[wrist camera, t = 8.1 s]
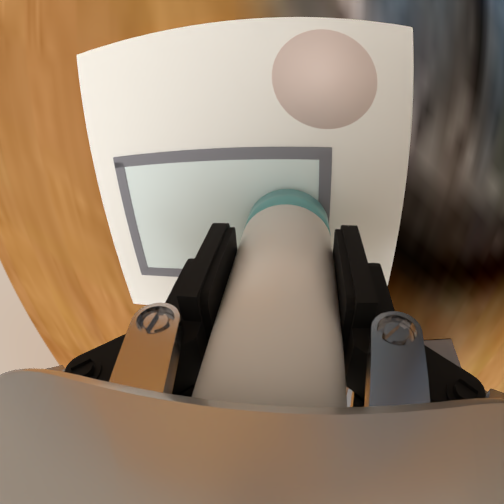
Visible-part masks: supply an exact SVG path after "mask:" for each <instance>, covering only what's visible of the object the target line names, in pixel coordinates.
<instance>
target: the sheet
mask: <svg viewBox="0 0 504 504" xmlns="http://www.w3.org/2000/svg"><path fill="white" fill-rule="evenodd" d="M77 64H78V73H79V81H80V89H81V96H82V103H83V109H84V116H85V121H86V127H87V133H88V138H89V143H90V148H91V153H92V158H93V163H94V168H95V172H96V177H97V181H98V185H99V189H100V193H101V197H102V201H103V205H104V209H105V213H106V217H107V220H108V224H109V228H110V231H111V235H112V238H113V242H114V245H115V248H116V252H117V255H118V258H119V261H120V265H121V268H122V271H123V274H124V277H125V280H126V283H127V286H128V289H129V292H130V295H131V298H132V300H133V303H134V304H144V305H150V304H153V303H165V302H166V300H167V298H168V296H169V294H170V292H171V290H172V288H173V286H174V284H175V282H176V280H177V278H178V277H179V275H180V273H181V271H182V269H183V267H184V265H185V263H186V261H187V260H188V259H190V258H195V257H196V255H197V253H198V251H199V249H200V247H201V245H202V243H203V241H204V239H205V237H206V235H207V233H208V231H209V229H210V227H211V225H212V224H213V223H229V225H230V227H235V231H236V240H237V250H238V247H239V244H240V241H241V238H242V235H243V232H244V229H245V225H246V222H247V219H248V216H249V213H250V211H251V209H252V207H253V206H254V204H255V203H256V202H257V201H258V200H259V199H260V198H261V197H263V196H264V195H266V194H268V193H270V192H272V191H276V190H280V189H294V190H299V191H302V192H305V193H307V194H309V195H311V196H312V197H314V198H315V199H316V200H317V201H318V202H319V203H320V204H321V205H322V206H323V208H324V210H325V212H326V214H327V217H328V221H329V228H330V235H331V242H332V249H333V244H334V232H335V229H340V228H341V225H357V227H358V230H359V233H360V236H361V240H362V243H363V247H364V250H365V254H366V257H367V261H368V263H379V264H380V265H381V267H382V271H383V274H384V277H385V280H386V283H387V286H388V282H389V277H390V273H391V268H392V263H393V258H394V253H395V248H396V243H397V237H398V232H399V226H400V220H401V214H402V208H403V201H404V194H405V186H406V178H407V170H408V161H409V151H410V139H411V126H412V108H413V75H414V56H413V27H408V26H403V25H396V24H390V23H382V22H374V21H365V20H355V19H342V18H322V17H275V18H255V19H242V20H231V21H222V22H213V23H206V24H199V25H192V26H186V27H181V28H175V29H170V30H165V31H160V32H155V33H151V34H147V35H142V36H138V37H134V38H130V39H126V40H123V41H119V42H116V43H112V44H109V45H105V46H102V47H99V48H96V49H93V50H90V51H87V52H84V53H81V54H78V55H77Z"/></svg>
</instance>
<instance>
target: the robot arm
mask: <svg viewBox="0 0 504 504" xmlns="http://www.w3.org/2000/svg"><path fill="white" fill-rule="evenodd" d="M236 253H237V240H236V231H235V227H230V225H229V223H213V224H212V225H211V227H210V229H209V231H208V233H207V235H206V237H205V239H204V241H203V243H202V245H201V247H200V249H199V251H198V253H197V255H196V257H195V258H190V259H188V260H187V261H186V263H185V265H184V267H183V269H182V271H181V273H180V275H179V277H178V278H177V280H176V282H175V284H174V286H173V288H172V290H171V292H170V294H169V296H168V298H167V300H166V302H165V303H153V304H150V305H147V306H145V307H143V308H141V309H140V310H138V311H137V312H136V313H135V314H134V316H133V318H132V320H131V322H130V325H129V328H128V330H127V333H126V334H125V335H122V336H120V337H118V338H116V339H114V340H112V341H110V342H107V343H105V344H103V345H101V346H99V347H97V348H95V349H92V350H90V351H88V352H86V353H84V354H82V355H79V356H78V357H76V358H74V359H73V360H72V361H71V362H70V363H69V364H68V365H67V367H66V368H64V366H63V365H61V366H56V367H52V368H47V369H20V370H13V371H9V372H6V373H3V374H1V375H0V504H504V393H502V392H499V391H497V390H494V389H490V390H489V391H488V392H487V391H485V389H484V387H483V385H482V384H481V382H480V381H479V380H478V379H477V378H475V377H474V376H473V375H471V374H470V373H468V372H467V371H465V370H463V369H462V368H460V367H459V366H457V365H456V364H454V363H452V362H451V361H449V360H448V359H446V358H445V357H443V356H441V355H440V354H438V353H437V352H435V351H433V350H432V349H430V348H429V347H427V346H426V345H424V340H423V333H422V329H421V327H420V325H419V323H418V322H417V321H416V320H415V319H414V318H412V317H411V316H409V315H407V314H405V313H402V312H397V311H394V307H393V304H392V300H391V297H390V293H389V290H388V287H387V283H386V280H385V277H384V274H383V271H382V267H381V265H380V264H379V263H368V261H367V257H366V254H365V250H364V247H363V243H362V240H361V236H360V233H359V230H358V227H357V225H341V228H340V229H335V232H334V244H333V258H334V266H335V274H336V282H337V291H338V300H339V310H340V320H341V331H342V339H343V351H344V364H345V379H346V386H347V387H348V388H349V389H350V390H352V395H351V405H350V407H296V406H275V405H260V404H248V403H237V402H227V401H218V400H210V399H202V398H194V397H192V394H193V390H194V387H195V384H196V380H197V377H198V374H199V371H200V367H201V364H202V361H203V358H204V354H205V351H206V348H207V345H208V342H209V338H210V335H211V332H212V329H213V326H214V322H215V319H216V316H217V313H218V310H219V307H220V303H221V300H222V297H223V294H224V291H225V288H226V284H227V281H228V278H229V275H230V272H231V269H232V266H233V263H234V259H235V256H236Z"/></svg>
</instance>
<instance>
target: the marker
mask: <svg viewBox="0 0 504 504" xmlns="http://www.w3.org/2000/svg"><path fill="white" fill-rule="evenodd" d="M192 397H194V398H202V399H210V400H218V401H227V402H237V403H248V404H260V405H275V406H296V407H347V397H346V379H345V364H344V351H343V339H342V331H341V320H340V310H339V300H338V291H337V282H336V274H335V266H334V258H333V249H332V242H331V235H330V228H329V221H328V217H327V214H326V212H325V210H324V208H323V206H322V205H321V204H320V203H319V202H318V201H317V200H316V199H315V198H314V197H312V196H311V195H309V194H307V193H305V192H302V191H299V190H294V189H280V190H276V191H272V192H270V193H268V194H266V195H264V196H263V197H261V198H260V199H259V200H258V201H257V202H256V203H255V204H254V206H253V207H252V209H251V211H250V213H249V216H248V219H247V222H246V225H245V229H244V232H243V235H242V238H241V241H240V244H239V247H238V250H237V253H236V256H235V259H234V263H233V266H232V269H231V272H230V275H229V278H228V281H227V284H226V288H225V291H224V294H223V297H222V300H221V303H220V307H219V310H218V313H217V316H216V319H215V322H214V326H213V329H212V332H211V335H210V338H209V342H208V345H207V348H206V351H205V354H204V358H203V361H202V364H201V367H200V371H199V374H198V377H197V380H196V384H195V387H194V390H193V394H192Z"/></svg>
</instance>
